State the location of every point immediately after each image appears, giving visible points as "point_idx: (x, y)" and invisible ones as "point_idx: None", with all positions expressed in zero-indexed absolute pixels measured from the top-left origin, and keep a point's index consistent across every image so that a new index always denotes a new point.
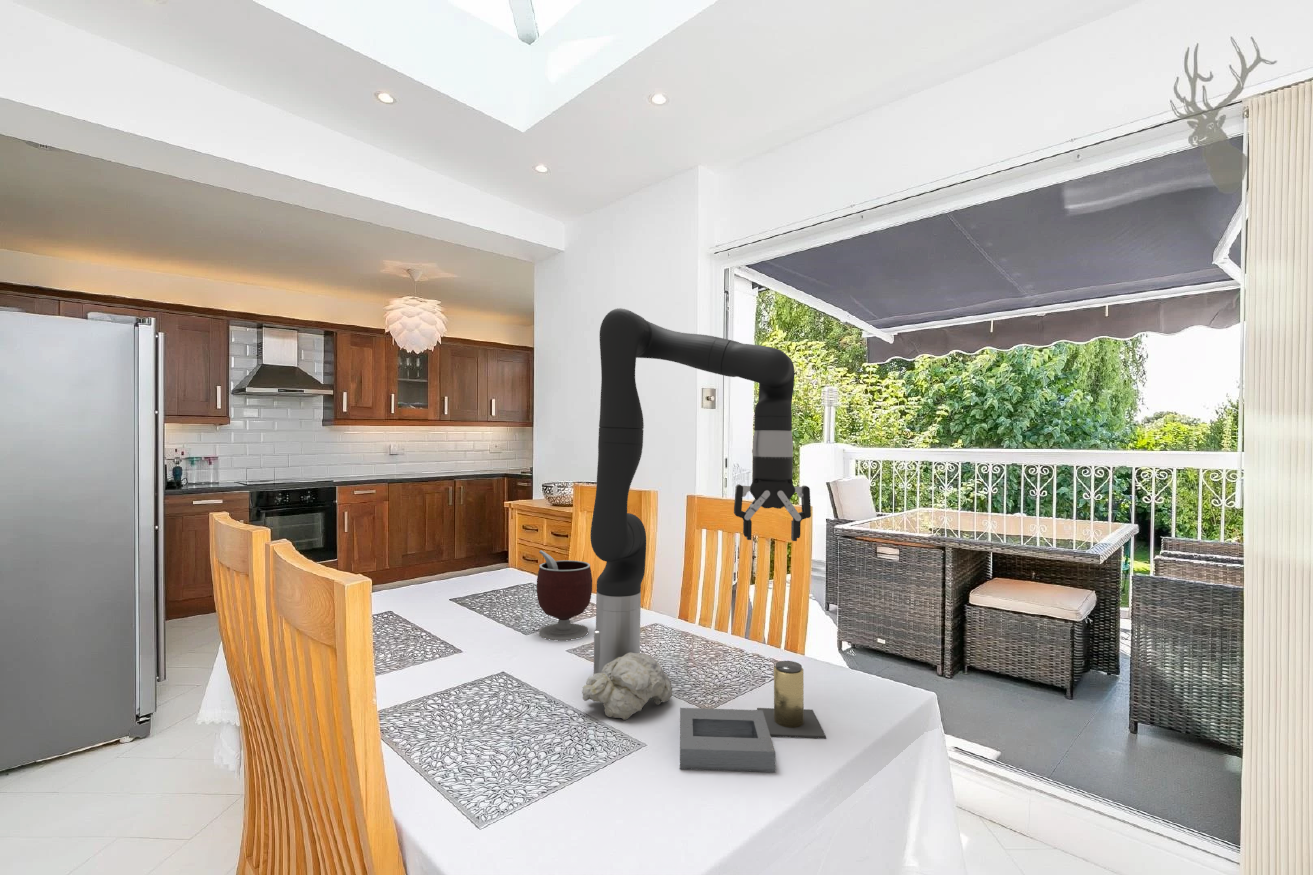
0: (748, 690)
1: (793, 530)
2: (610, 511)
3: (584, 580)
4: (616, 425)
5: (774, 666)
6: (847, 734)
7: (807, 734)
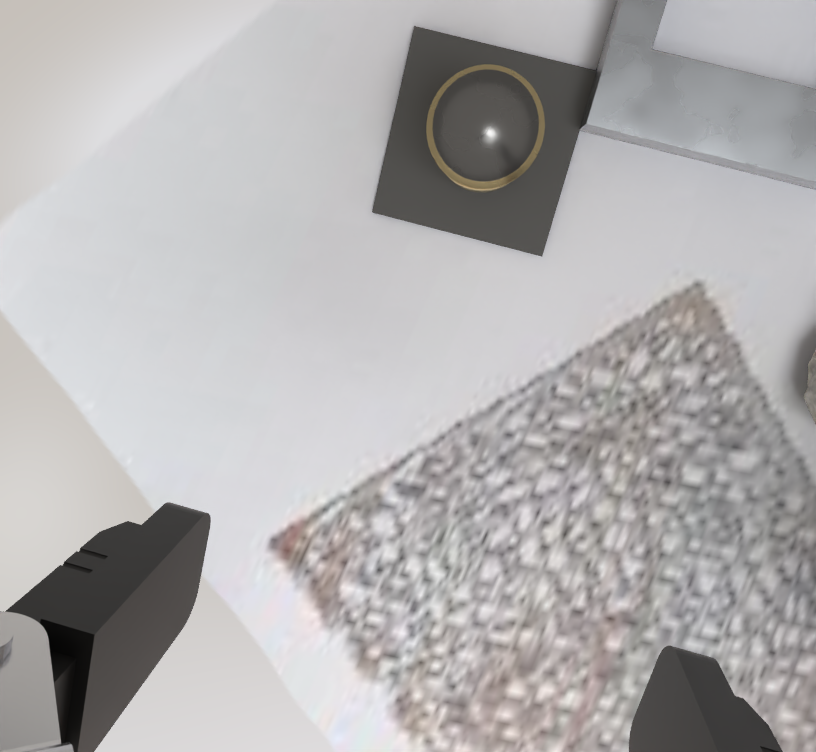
0: (508, 400)
1: (158, 563)
2: None
3: None
4: None
5: (530, 164)
6: (338, 44)
7: (466, 45)
